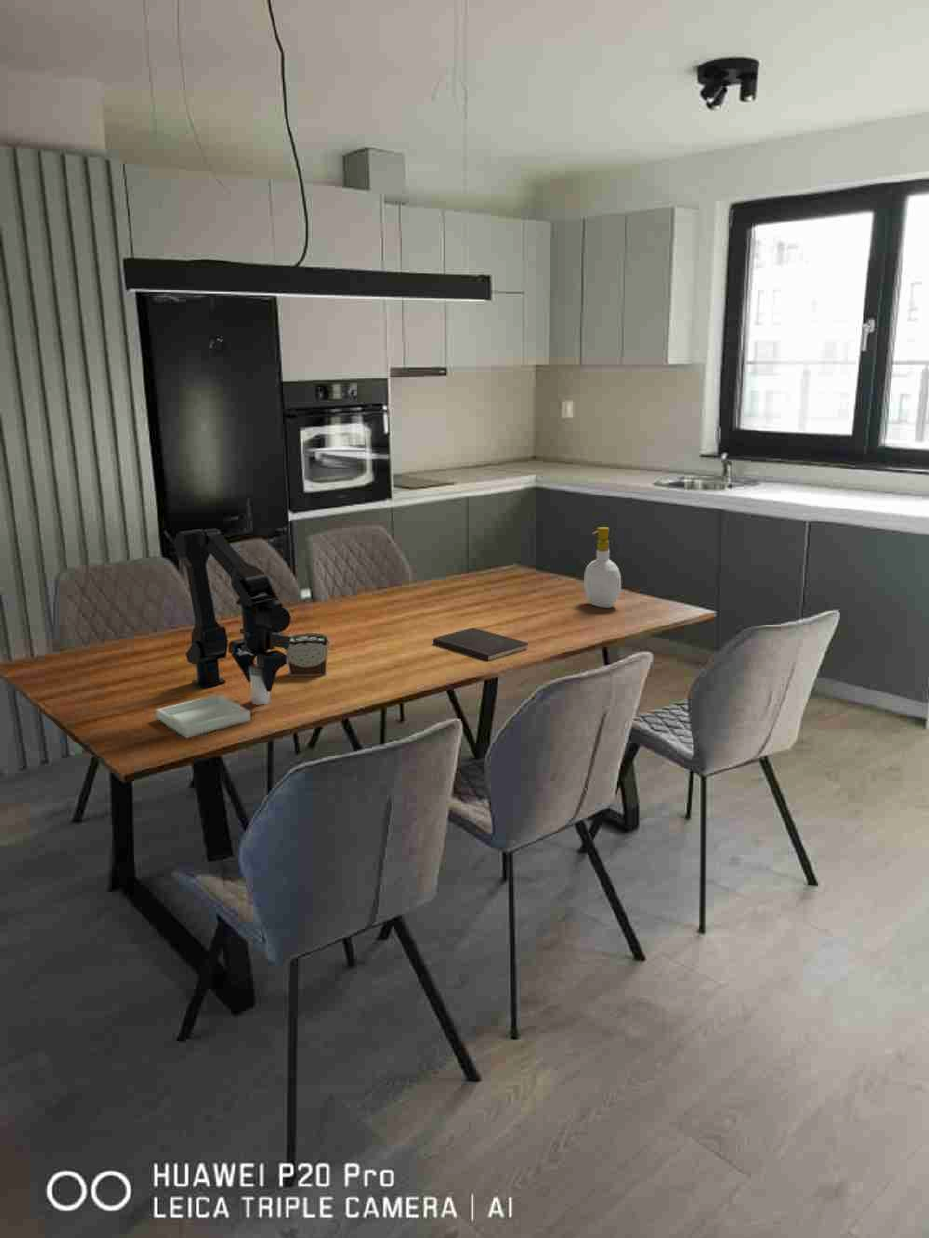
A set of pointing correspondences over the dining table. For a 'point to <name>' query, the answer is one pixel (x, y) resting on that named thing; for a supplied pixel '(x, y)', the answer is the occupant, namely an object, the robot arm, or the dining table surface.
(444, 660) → the dining table surface
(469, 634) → the hardcover book
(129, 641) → the dining table surface
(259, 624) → the robot arm
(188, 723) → the tray
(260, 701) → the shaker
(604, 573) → the soap bottle
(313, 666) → the food container
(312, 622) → the dining table surface
